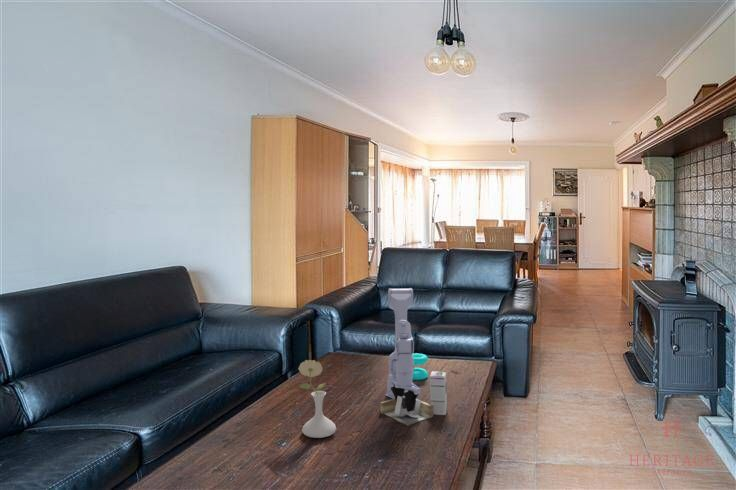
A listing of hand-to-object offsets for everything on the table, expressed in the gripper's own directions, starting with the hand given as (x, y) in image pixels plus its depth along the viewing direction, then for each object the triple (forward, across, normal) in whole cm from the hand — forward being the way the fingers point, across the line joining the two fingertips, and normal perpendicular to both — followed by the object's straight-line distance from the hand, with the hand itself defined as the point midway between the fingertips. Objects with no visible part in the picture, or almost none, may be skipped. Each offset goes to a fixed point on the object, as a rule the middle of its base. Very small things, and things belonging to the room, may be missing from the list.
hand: (404, 408), depth 176 cm
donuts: (+3, -31, +34) cm, 46 cm away
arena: (+3, -1, +2) cm, 4 cm away
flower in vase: (+3, -8, -32) cm, 33 cm away
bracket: (+2, +1, -1) cm, 2 cm away
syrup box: (+3, +4, +13) cm, 14 cm away
